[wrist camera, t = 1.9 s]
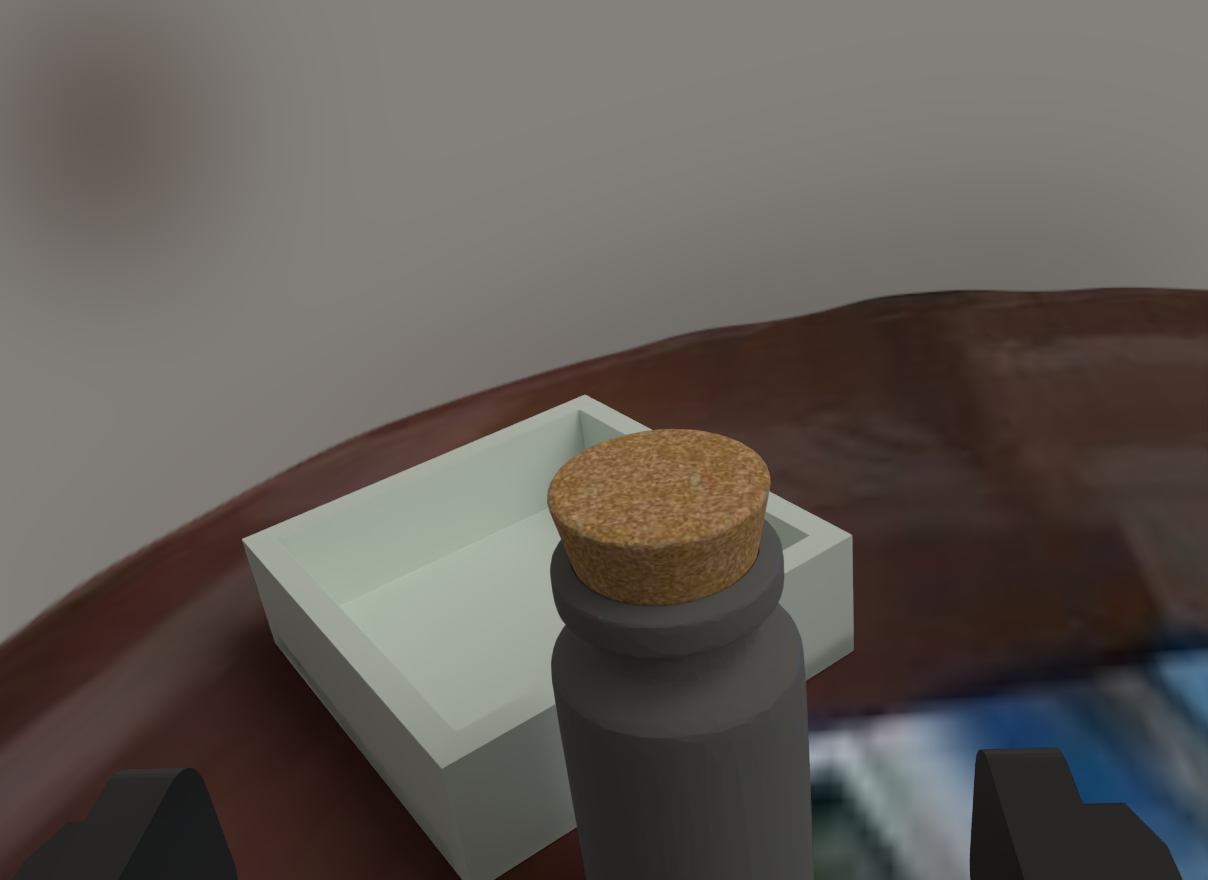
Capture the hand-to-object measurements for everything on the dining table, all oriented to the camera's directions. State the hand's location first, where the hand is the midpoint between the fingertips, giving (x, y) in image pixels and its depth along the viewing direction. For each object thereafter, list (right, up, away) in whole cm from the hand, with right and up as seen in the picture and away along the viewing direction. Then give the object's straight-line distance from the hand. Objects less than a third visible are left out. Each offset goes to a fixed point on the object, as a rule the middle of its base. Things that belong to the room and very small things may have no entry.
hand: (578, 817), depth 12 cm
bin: (-2, -4, +32) cm, 32 cm away
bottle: (+3, -10, +19) cm, 22 cm away
